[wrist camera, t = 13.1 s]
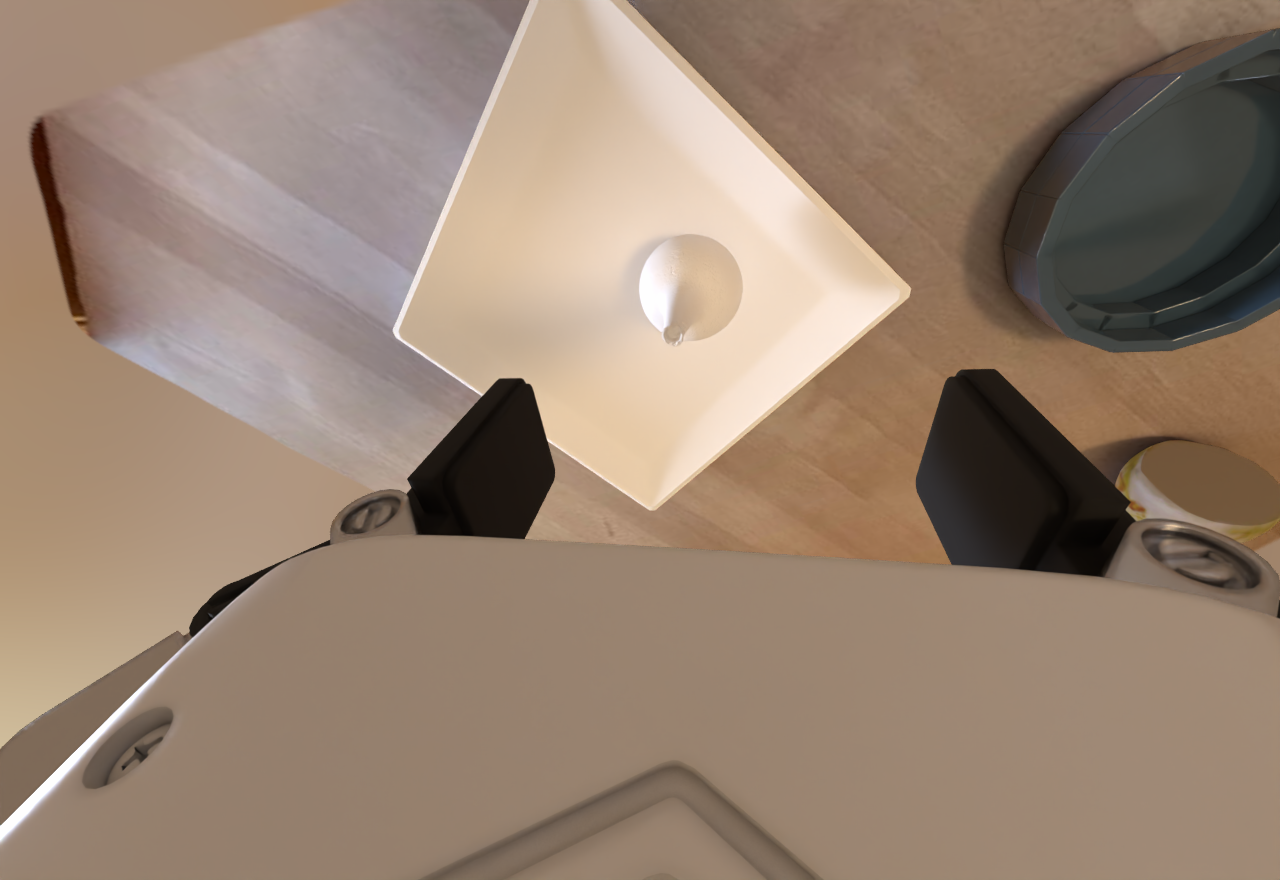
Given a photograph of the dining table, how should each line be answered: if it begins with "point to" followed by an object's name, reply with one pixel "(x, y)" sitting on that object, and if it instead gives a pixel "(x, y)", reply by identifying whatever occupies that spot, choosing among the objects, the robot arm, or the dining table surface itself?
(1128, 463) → the mug
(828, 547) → the dining table surface
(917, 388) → the dining table surface
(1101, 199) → the bowl
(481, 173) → the plate
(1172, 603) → the robot arm
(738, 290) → the garlic bulb
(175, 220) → the dining table surface
